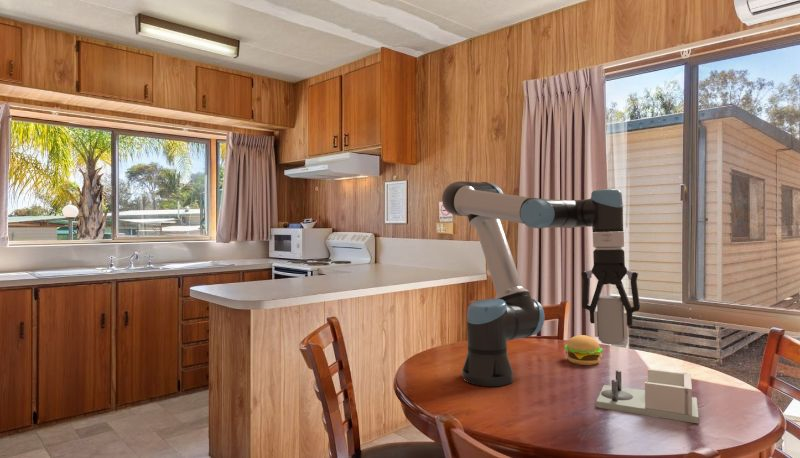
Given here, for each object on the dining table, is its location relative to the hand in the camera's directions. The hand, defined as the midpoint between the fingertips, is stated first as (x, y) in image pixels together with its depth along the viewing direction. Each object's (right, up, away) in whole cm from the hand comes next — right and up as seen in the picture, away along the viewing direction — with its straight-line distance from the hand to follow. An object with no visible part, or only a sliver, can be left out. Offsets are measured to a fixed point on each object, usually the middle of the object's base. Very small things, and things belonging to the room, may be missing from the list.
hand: (611, 336), depth 128 cm
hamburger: (+7, -17, +37) cm, 41 cm away
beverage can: (0, -2, 0) cm, 2 cm away
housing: (+12, -15, -6) cm, 20 cm away
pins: (+1, -15, 0) cm, 15 cm away
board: (+7, -17, -4) cm, 19 cm away
